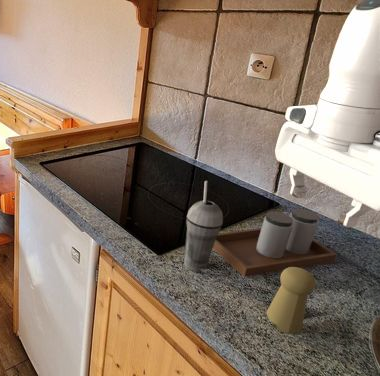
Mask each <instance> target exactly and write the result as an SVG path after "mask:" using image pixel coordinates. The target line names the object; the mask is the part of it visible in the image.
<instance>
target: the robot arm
mask: <svg viewBox="0 0 380 376" xmlns="http://www.w3.org/2000/svg"><path fill="white" fill-rule="evenodd" d="M284 116H285V120H286V122H284V124H283V125H282V126H281V129H280V130H279V131H280V132H279V133H278V138H277V141H276V145H275V147H274V148H275V150H274V155H275V159H276V161H277V162H278V163H279V162H280V164H283V165H285V166H287V167H289V168H290V169H289V171H288V172H289V179H290V184H291V188H290V191H289V195H291V196H293V197H294V198H296V199H303V198H306V196H307V192H308V190H309V187H308V186H306V185H305V176H307V177H309V178H311V179H313V180H315V181H317V182H319V183H321V184H323V185H325V186H327V187H329V188H331V189H333V190H335V191H336V192H339V193H341V194H342V195H345V196H347V197H349V198H351V199H352V201H351V204H350V205H351V206H352V207H353V208H352V209H350V210H349V211H340V213H339V218H338V219H337V222H338V223H339V224H341V225H342V226H344V227H346V228H355V226H357V225H358V222H359V220H360V217H362V216H363V215H365V214H366V213H368V212H370V211H371V210H374V211H376V212H380V0H363V1H361V2H359V3H357V4H356V5H355V6H353V8H352V10H351V11H350V13H349V14H348V15H347V18H346V19H345V21H344V23H343V25H342V28H341V30H340V31H339V34H338V38H337V40H336V42H335V45H334V49H333V51H332V55H331V58H330V61H329V66H328V79H327V82H326V84H325V87H324V88H323V89H322V91H321V93H320V95H319V98H318V101H317V103H311V104H306V105H294V106H288V107H287V109H286V112H285V115H284Z"/></svg>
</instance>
